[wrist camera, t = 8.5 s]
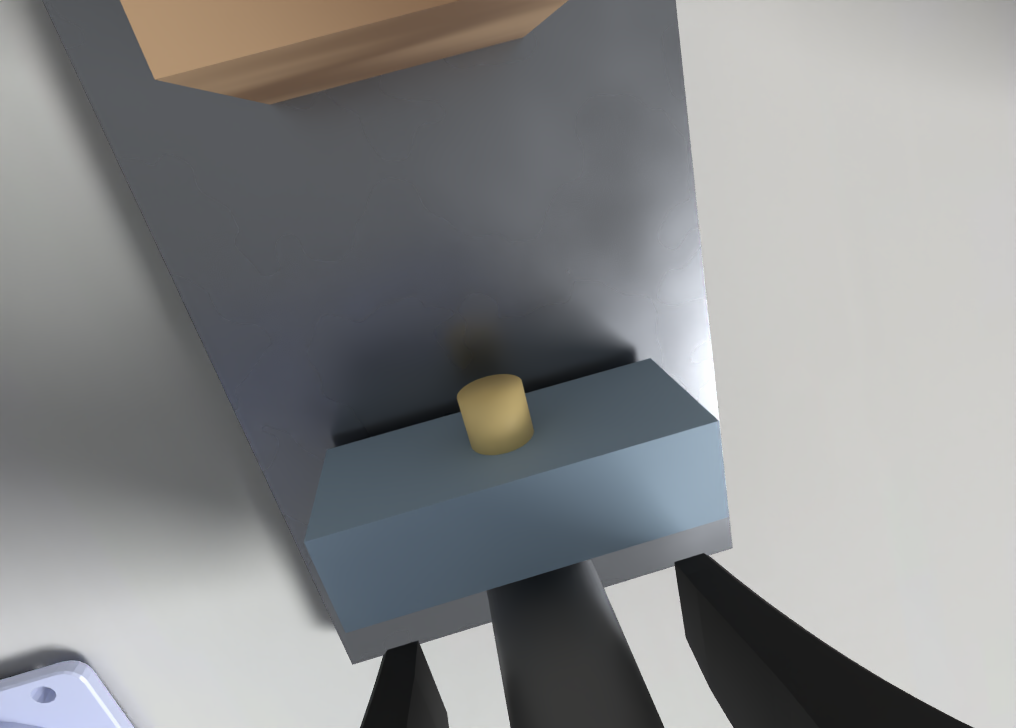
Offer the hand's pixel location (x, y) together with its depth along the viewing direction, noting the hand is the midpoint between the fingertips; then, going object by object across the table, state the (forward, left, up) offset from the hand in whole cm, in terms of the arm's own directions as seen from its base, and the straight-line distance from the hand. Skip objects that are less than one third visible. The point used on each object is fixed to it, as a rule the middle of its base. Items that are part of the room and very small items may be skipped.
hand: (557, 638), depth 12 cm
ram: (0, +2, -3) cm, 3 cm away
